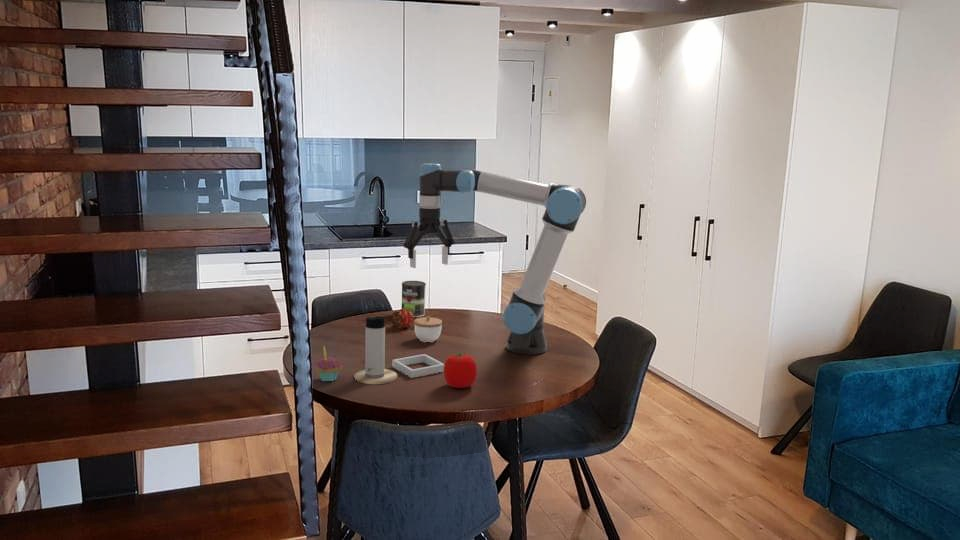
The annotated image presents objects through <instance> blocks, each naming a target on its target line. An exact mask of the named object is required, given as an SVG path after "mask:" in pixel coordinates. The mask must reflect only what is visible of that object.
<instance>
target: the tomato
mask: <svg viewBox="0 0 960 540" xmlns="http://www.w3.org/2000/svg"><path fill="white" fill-rule="evenodd" d="M443 364H444V372H443V376H444V380H445V381H446V383H447V384H448V385H449V386H450V387H451V388H455V389H464V388H468V387H471V386H472V385H473V384H474V382H475V381H476V379H477V374H478V369H477V364H476V361H475V359H474V358H473V357H472V356H471V355H468V354H466V353H458V352H456V354H451V355H449V356H448V357H447V358H446V360H445V362H444V363H443Z"/></svg>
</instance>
